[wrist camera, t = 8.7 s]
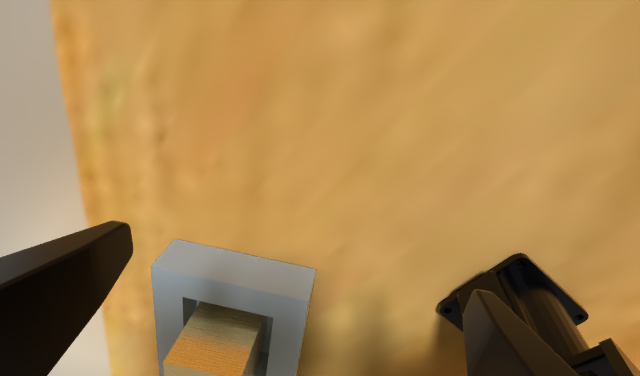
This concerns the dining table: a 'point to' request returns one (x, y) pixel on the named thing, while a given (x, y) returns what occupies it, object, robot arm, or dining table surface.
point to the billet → (218, 343)
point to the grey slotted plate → (233, 298)
